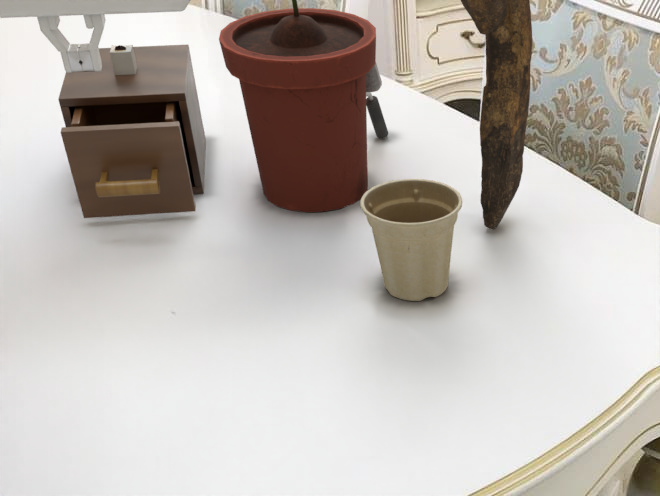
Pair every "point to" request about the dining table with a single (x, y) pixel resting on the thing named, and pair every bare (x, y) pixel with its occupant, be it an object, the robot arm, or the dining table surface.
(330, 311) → the dining table surface
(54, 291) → the dining table surface
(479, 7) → the sculpture
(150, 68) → the dresser
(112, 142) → the drawer
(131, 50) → the cube with dark pebbles
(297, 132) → the potted plant
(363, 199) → the flower pot
